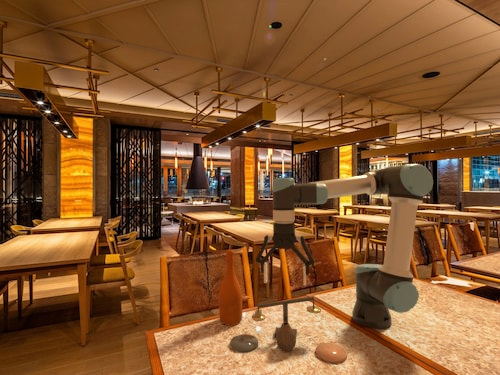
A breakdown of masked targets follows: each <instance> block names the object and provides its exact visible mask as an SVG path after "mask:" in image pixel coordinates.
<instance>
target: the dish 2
mask: <svg viewBox="0 0 500 375" xmlns="http://www.w3.org/2000/svg"><path fill="white" fill-rule="evenodd" d="M315 354H316V356H317V357H318V359H320V360H322V361H324V362H327V363H332V364H340V363H343V362H345V361H346V360H347V358H348V352H347V350H346V349H345V348H344V347H343V346H341V345H339V344H337V343H334V342H333V343H332V342H322V343H319V344H317V345H316V347H315Z"/></svg>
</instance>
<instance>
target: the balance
mask: <svg viewBox="0 0 500 375" xmlns="http://www.w3.org/2000/svg"><path fill="white" fill-rule="evenodd" d="M311 301H312V305H309V306H307V307H306V312H308V313H310V314H319V313H321V312H322V308H321V307H319V306H316V305H315V296H306V297H298V298H293V299H286V300H285V299H284V300H279V301H278V300H277V301H271V302H265V303H258V304H256V306H257V309H255V310H254V311H255V312H254V314H252V315H251V319H252V321H256V322H261V321H264V320H265V319H266V315H265V314H263V310H262V309H260V308H269V307H275V306H282V323H283V322H288V323H289V306H288V305H289V304H297V303H306V302H311ZM279 328H280V327H277V326H276V328H275V330H274V333H273V334H274V338H275V339H276V334H277V331H278V329H279ZM292 329H293V330H294V332H295V335H296V338H297V335H298V329H296V328H292Z"/></svg>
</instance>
